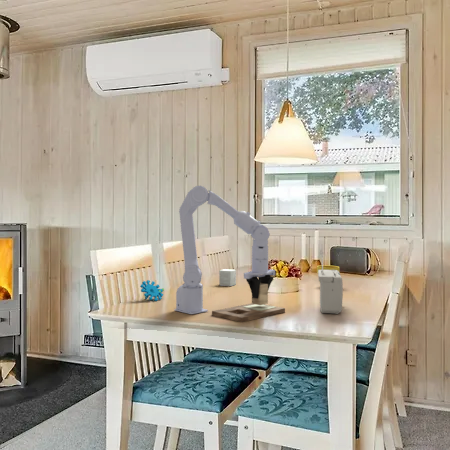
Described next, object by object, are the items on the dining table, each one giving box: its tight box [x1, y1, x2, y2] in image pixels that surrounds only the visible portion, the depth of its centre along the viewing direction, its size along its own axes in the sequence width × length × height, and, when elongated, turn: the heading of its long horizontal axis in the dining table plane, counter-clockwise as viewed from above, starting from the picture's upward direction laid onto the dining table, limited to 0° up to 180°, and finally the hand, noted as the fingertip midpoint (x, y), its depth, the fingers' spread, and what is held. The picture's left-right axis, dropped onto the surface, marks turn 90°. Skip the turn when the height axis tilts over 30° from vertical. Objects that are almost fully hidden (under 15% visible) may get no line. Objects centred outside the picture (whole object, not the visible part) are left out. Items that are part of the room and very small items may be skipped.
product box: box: [218, 268, 237, 287], centre depth 231 cm, size 6×6×7 cm
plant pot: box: [316, 264, 341, 283], centre depth 226 cm, size 10×10×10 cm
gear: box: [139, 279, 165, 302], centre depth 194 cm, size 11×6×10 cm
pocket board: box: [211, 302, 286, 323], centre depth 168 cm, size 14×22×2 cm, turn 134°
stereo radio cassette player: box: [317, 251, 344, 315], centre depth 178 cm, size 21×8×20 cm, turn 170°
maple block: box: [251, 283, 269, 305], centre depth 172 cm, size 4×4×7 cm
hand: (259, 297), depth 172 cm, fingers closed on maple block, 4 cm apart
